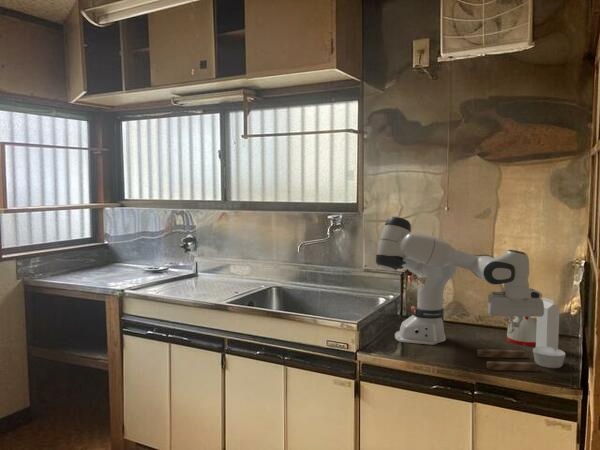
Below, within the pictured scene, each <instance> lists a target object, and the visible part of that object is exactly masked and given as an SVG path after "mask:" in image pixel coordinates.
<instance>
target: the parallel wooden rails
mask: <svg viewBox="0 0 600 450" xmlns="http://www.w3.org/2000/svg"><path fill="white" fill-rule="evenodd" d="M476 352H477V353H476V355H477V357H479V358H509V359H510V358H511V359H512V358H513V359H526V351H525V350H521V349H487V348H485V349H484V348H483V349H482V348H480V349H479V348H477V351H476ZM486 369H487V370H489V371H491V370H492V371H494V370H495V371H519V372H520V371H521V372H538V371H539V365H538V364H537V363H536V362H529V361H527V362H525V361H523V362H522V361H519V362H518V361H495V360H494V361H491V360H488V361H487V360H486Z"/></svg>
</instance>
